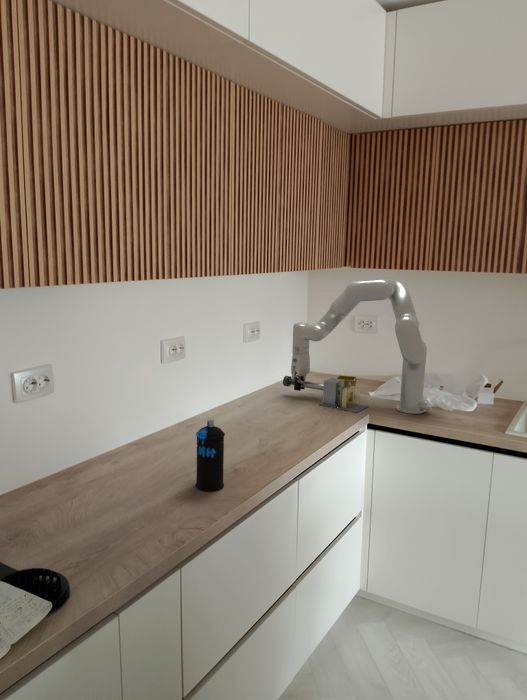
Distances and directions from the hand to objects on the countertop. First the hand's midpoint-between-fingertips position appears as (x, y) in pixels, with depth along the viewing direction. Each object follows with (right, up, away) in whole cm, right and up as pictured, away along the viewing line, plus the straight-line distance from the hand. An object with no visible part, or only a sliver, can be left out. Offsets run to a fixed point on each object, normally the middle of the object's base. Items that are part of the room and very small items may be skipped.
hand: (299, 389), depth 271 cm
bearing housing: (+14, -6, -9) cm, 18 cm away
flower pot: (+22, -4, +7) cm, 23 cm away
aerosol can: (-32, -22, -100) cm, 107 cm away
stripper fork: (+19, -7, -12) cm, 24 cm away
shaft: (+5, 0, -4) cm, 7 cm away
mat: (+22, -7, -14) cm, 27 cm away
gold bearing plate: (+20, -7, -13) cm, 25 cm away
